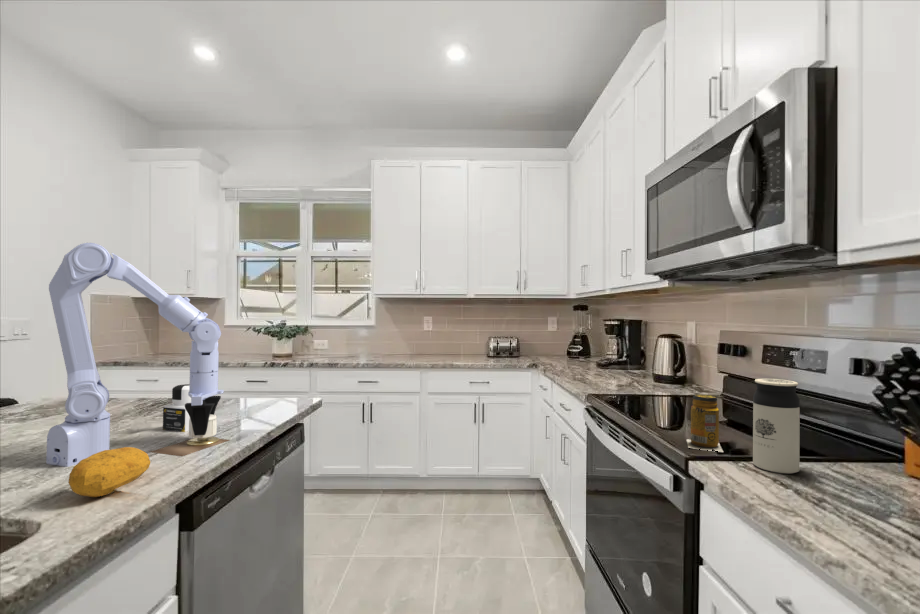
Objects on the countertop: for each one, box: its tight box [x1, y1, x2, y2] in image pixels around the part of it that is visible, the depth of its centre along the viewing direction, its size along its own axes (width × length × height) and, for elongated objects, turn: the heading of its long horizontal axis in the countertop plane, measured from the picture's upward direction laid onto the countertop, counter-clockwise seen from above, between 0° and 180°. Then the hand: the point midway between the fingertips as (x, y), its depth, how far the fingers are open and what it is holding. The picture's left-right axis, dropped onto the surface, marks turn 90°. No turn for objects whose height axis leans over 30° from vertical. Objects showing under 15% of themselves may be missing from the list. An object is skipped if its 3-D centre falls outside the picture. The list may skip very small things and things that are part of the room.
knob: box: [186, 436, 220, 446], centre depth 106 cm, size 6×6×3 cm
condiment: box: [686, 393, 724, 453], centre depth 112 cm, size 7×8×12 cm
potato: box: [68, 446, 151, 498], centre depth 80 cm, size 8×14×7 cm, turn 172°
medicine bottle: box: [162, 383, 191, 433], centre depth 119 cm, size 7×7×12 cm
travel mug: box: [752, 378, 801, 475], centre depth 97 cm, size 8×8×18 cm
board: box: [149, 438, 231, 457], centre depth 103 cm, size 13×9×1 cm
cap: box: [188, 414, 218, 439], centre depth 106 cm, size 5×5×4 cm
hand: (203, 431), depth 106 cm, fingers closed on cap, 5 cm apart
